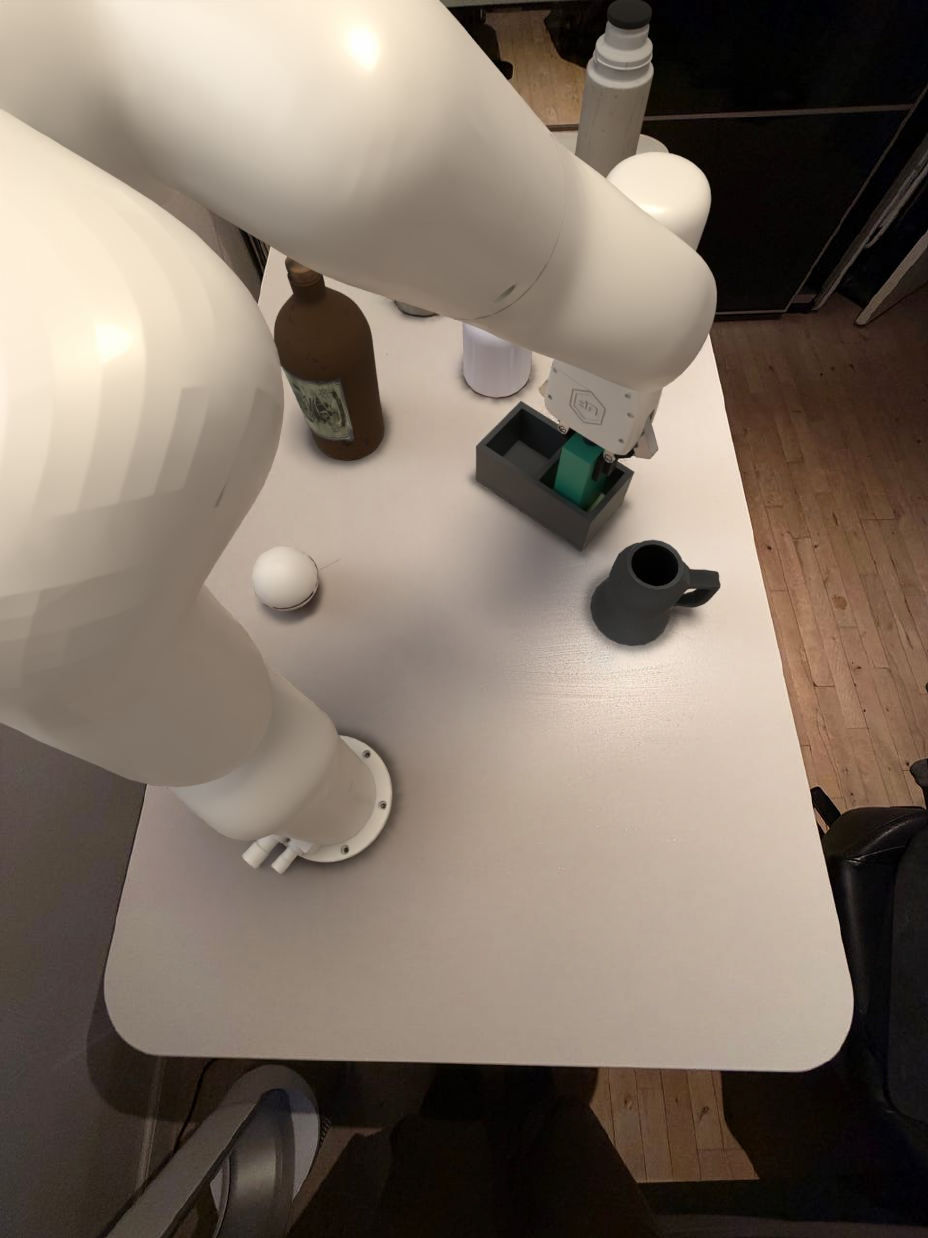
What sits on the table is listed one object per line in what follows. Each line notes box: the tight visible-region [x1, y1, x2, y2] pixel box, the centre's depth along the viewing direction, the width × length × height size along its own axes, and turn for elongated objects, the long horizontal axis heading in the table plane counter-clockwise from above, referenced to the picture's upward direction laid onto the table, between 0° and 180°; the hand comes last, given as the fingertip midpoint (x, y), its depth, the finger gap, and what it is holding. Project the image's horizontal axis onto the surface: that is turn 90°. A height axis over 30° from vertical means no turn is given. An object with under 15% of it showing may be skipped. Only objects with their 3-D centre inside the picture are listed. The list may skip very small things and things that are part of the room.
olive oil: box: [273, 256, 385, 461], centre depth 72 cm, size 11×11×25 cm
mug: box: [589, 539, 721, 647], centre depth 68 cm, size 12×9×11 cm
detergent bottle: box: [554, 432, 607, 512], centre depth 71 cm, size 6×4×14 cm, turn 140°
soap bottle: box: [461, 322, 533, 398], centre depth 76 cm, size 9×9×25 cm
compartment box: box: [475, 400, 635, 552], centre depth 77 cm, size 9×16×7 cm, turn 50°
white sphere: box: [250, 545, 341, 612], centre depth 72 cm, size 10×7×7 cm
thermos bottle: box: [574, 0, 654, 178], centre depth 84 cm, size 8×8×28 cm
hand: (585, 461), depth 70 cm, fingers closed on detergent bottle, 3 cm apart
